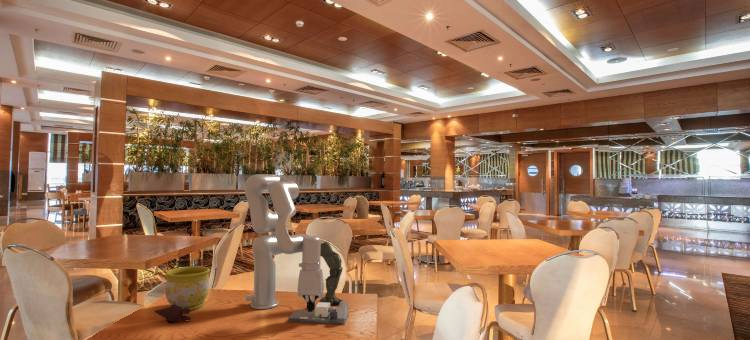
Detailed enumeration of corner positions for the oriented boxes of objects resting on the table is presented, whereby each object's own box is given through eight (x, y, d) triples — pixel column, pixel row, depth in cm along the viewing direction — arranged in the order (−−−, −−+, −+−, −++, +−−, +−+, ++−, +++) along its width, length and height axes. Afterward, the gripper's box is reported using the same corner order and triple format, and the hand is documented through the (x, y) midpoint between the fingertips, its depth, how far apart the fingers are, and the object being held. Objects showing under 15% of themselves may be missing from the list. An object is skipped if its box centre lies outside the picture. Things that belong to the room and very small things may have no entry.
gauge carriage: (313, 318, 155) (313, 308, 155) (318, 311, 163) (318, 302, 163) (333, 319, 155) (333, 309, 155) (337, 312, 162) (337, 302, 162)
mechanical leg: (351, 300, 182) (337, 237, 184) (349, 304, 175) (334, 240, 177) (323, 305, 184) (309, 244, 185) (320, 310, 177) (305, 246, 178)
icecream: (148, 308, 152) (185, 313, 151) (159, 298, 159) (195, 302, 158) (149, 324, 153) (185, 328, 152) (160, 313, 160) (195, 317, 160)
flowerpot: (216, 301, 182) (216, 266, 182) (197, 314, 164) (198, 275, 164) (178, 300, 182) (179, 265, 183) (155, 313, 164) (156, 275, 165)
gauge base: (288, 321, 156) (288, 305, 156) (295, 313, 166) (295, 298, 166) (344, 324, 154) (344, 307, 154) (348, 315, 164) (348, 300, 164)
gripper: (291, 267, 158) (290, 313, 157) (326, 269, 156) (326, 314, 156) (296, 264, 165) (295, 307, 165) (330, 265, 164) (330, 308, 163)
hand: (310, 310), depth 160 cm, fingers closed
